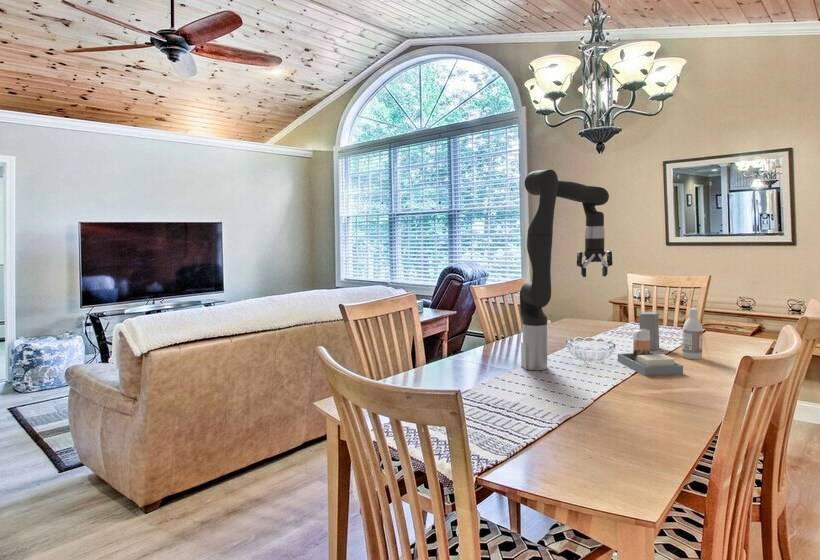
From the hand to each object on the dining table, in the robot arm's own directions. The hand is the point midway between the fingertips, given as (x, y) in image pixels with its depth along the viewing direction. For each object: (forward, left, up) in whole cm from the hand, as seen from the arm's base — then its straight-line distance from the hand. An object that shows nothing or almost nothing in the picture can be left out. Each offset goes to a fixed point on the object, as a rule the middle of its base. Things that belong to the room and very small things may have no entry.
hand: (594, 276), depth 209 cm
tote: (+10, -25, -33) cm, 43 cm away
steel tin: (+10, -20, -32) cm, 39 cm away
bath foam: (+36, -11, -33) cm, 50 cm away
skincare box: (+28, +7, -33) cm, 44 cm away
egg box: (+10, -29, -32) cm, 45 cm away
